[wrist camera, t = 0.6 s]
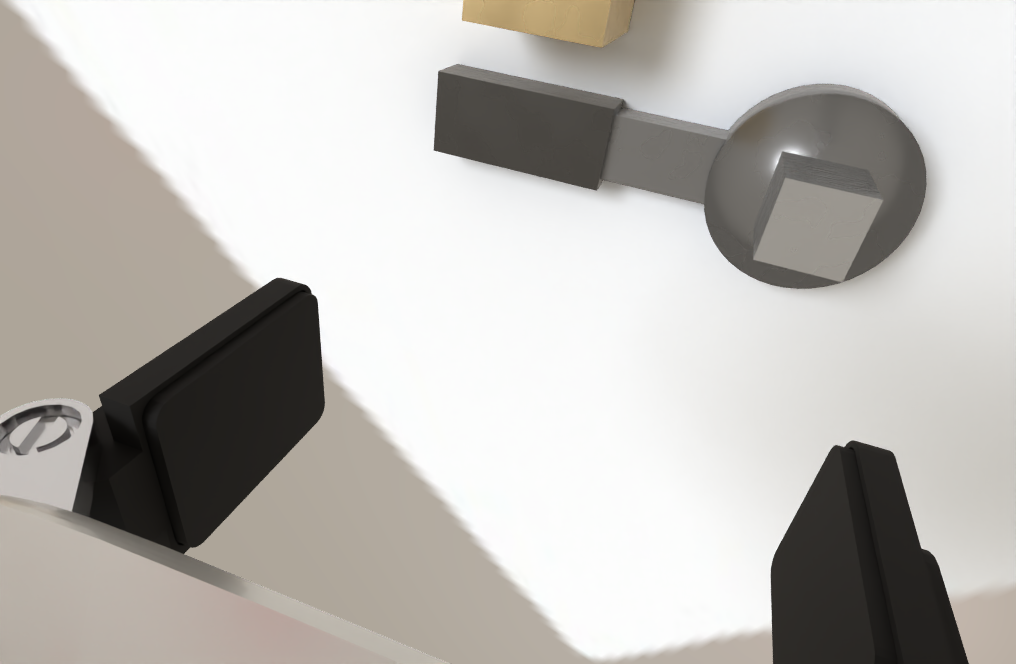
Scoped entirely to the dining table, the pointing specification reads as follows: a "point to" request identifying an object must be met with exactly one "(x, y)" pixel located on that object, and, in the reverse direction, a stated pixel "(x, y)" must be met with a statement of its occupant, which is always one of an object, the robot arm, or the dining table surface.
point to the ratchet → (714, 165)
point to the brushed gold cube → (555, 18)
